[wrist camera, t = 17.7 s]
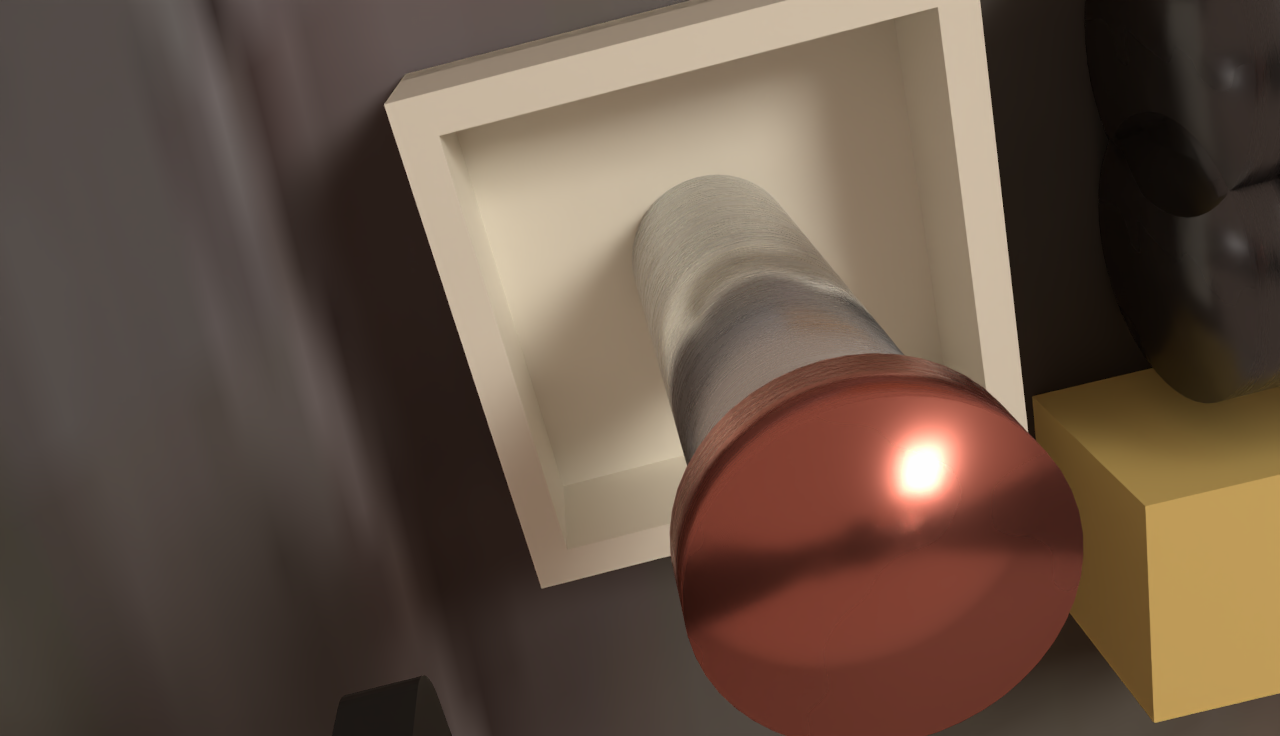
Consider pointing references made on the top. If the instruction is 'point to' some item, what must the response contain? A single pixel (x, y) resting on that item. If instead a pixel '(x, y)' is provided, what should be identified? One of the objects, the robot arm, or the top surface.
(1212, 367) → the trolley
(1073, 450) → the block
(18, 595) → the top surface
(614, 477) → the tray
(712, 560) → the pin
